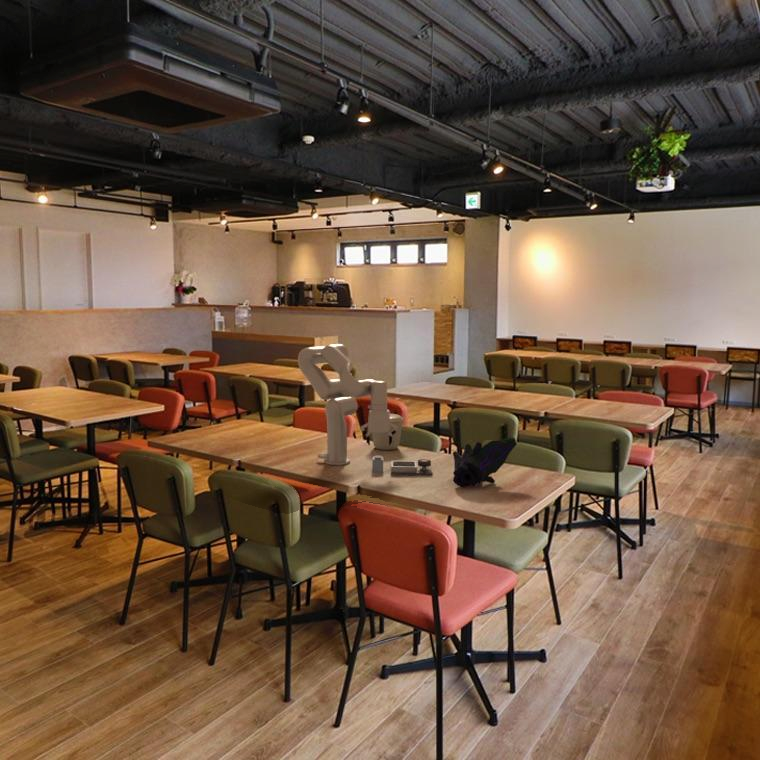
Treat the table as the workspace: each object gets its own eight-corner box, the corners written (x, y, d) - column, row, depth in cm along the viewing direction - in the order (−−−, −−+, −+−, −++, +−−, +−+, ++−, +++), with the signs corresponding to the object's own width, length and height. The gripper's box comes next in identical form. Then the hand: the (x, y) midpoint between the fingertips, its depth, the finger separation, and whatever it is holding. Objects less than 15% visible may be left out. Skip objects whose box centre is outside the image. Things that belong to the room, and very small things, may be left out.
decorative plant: (453, 506, 273) (481, 473, 296) (503, 494, 256) (528, 460, 280) (431, 464, 271) (461, 434, 294) (481, 450, 254) (508, 419, 278)
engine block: (372, 472, 290) (372, 458, 289) (372, 469, 296) (372, 454, 295) (383, 472, 290) (383, 458, 289) (383, 469, 296) (383, 455, 295)
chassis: (390, 475, 286) (390, 467, 285) (390, 468, 298) (390, 460, 297) (432, 475, 286) (432, 467, 285) (430, 468, 298) (431, 461, 297)
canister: (363, 450, 332) (364, 410, 330) (377, 443, 349) (377, 405, 346) (395, 453, 326) (396, 413, 323) (407, 446, 342) (408, 408, 340)
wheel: (418, 466, 288) (418, 462, 288) (417, 463, 294) (417, 459, 294) (431, 466, 288) (431, 462, 288) (430, 463, 294) (430, 459, 294)
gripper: (359, 409, 285) (360, 446, 287) (398, 408, 285) (398, 446, 287) (360, 406, 293) (360, 443, 295) (397, 406, 293) (397, 442, 294)
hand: (379, 444), depth 291 cm, fingers open, 9 cm apart
